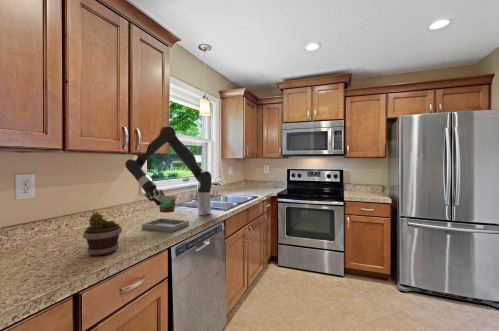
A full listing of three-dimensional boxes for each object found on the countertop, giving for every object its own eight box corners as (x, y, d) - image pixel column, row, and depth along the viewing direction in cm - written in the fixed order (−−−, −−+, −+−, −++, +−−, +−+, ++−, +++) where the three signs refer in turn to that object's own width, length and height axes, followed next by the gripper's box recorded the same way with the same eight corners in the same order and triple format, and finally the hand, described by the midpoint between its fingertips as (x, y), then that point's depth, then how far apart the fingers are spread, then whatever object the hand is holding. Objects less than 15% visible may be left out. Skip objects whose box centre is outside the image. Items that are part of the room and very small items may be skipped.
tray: (160, 222, 160) (160, 218, 160) (188, 225, 152) (188, 220, 152) (142, 229, 145) (142, 224, 145) (172, 232, 137) (172, 227, 137)
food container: (153, 212, 147) (153, 195, 147) (159, 210, 153) (159, 194, 153) (169, 213, 143) (169, 197, 143) (176, 211, 149) (176, 195, 149)
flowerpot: (106, 245, 118) (105, 204, 117) (129, 249, 112) (128, 206, 112) (75, 256, 104) (74, 210, 104) (100, 261, 98) (99, 212, 98)
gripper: (141, 181, 145) (157, 201, 141) (158, 179, 159) (173, 198, 155) (135, 189, 147) (150, 210, 143) (152, 187, 161) (166, 206, 157)
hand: (162, 203), depth 149 cm, fingers closed on food container, 5 cm apart
